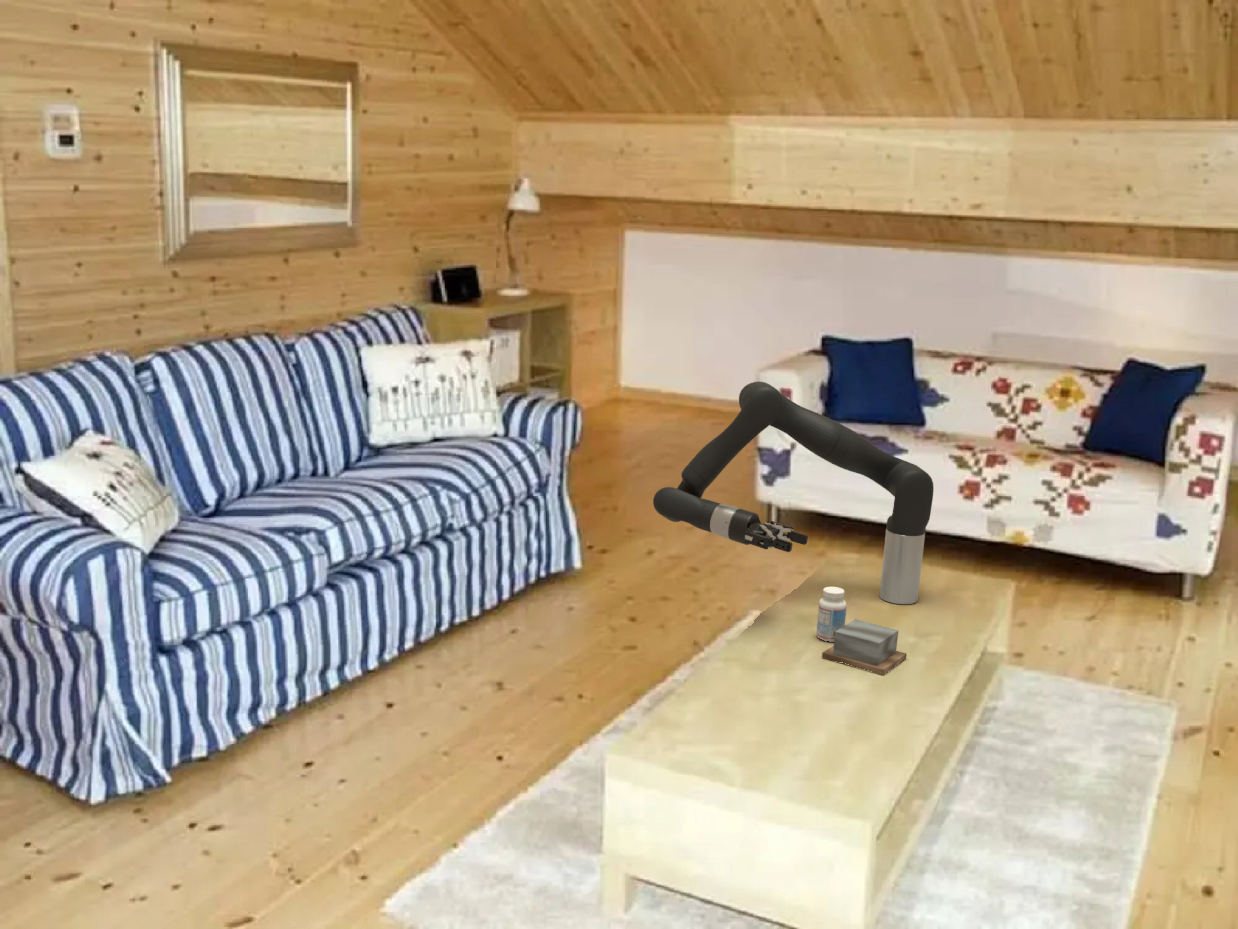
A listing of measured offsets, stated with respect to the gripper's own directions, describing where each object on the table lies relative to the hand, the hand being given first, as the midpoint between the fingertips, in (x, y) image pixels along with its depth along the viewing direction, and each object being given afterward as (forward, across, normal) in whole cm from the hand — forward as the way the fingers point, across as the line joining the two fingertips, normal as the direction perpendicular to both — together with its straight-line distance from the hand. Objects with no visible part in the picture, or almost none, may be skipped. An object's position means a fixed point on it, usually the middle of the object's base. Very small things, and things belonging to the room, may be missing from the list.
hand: (799, 544), depth 281 cm
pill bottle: (+11, +1, +19) cm, 22 cm away
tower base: (+22, -6, +18) cm, 29 cm away
